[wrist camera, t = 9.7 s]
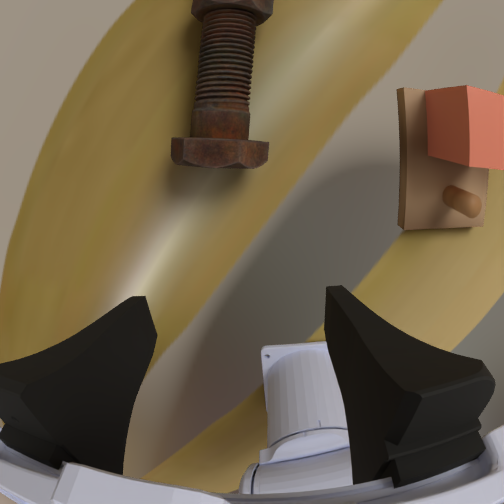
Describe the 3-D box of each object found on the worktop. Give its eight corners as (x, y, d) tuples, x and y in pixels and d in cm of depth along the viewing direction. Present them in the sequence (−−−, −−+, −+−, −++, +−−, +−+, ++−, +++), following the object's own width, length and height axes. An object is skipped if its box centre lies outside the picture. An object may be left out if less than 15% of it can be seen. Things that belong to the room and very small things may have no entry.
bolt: (252, -20, 15) (235, 161, 21) (188, -33, 13) (165, 160, 18) (296, -50, 11) (280, 171, 16) (220, -74, 8) (190, 169, 14)
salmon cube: (474, 159, 17) (517, 171, 12) (427, 155, 17) (469, 166, 13) (473, 99, 15) (516, 99, 11) (424, 90, 15) (466, 85, 11)
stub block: (475, 221, 20) (504, 239, 16) (397, 224, 21) (422, 245, 17) (479, 103, 16) (512, 104, 12) (396, 89, 17) (425, 82, 13)
